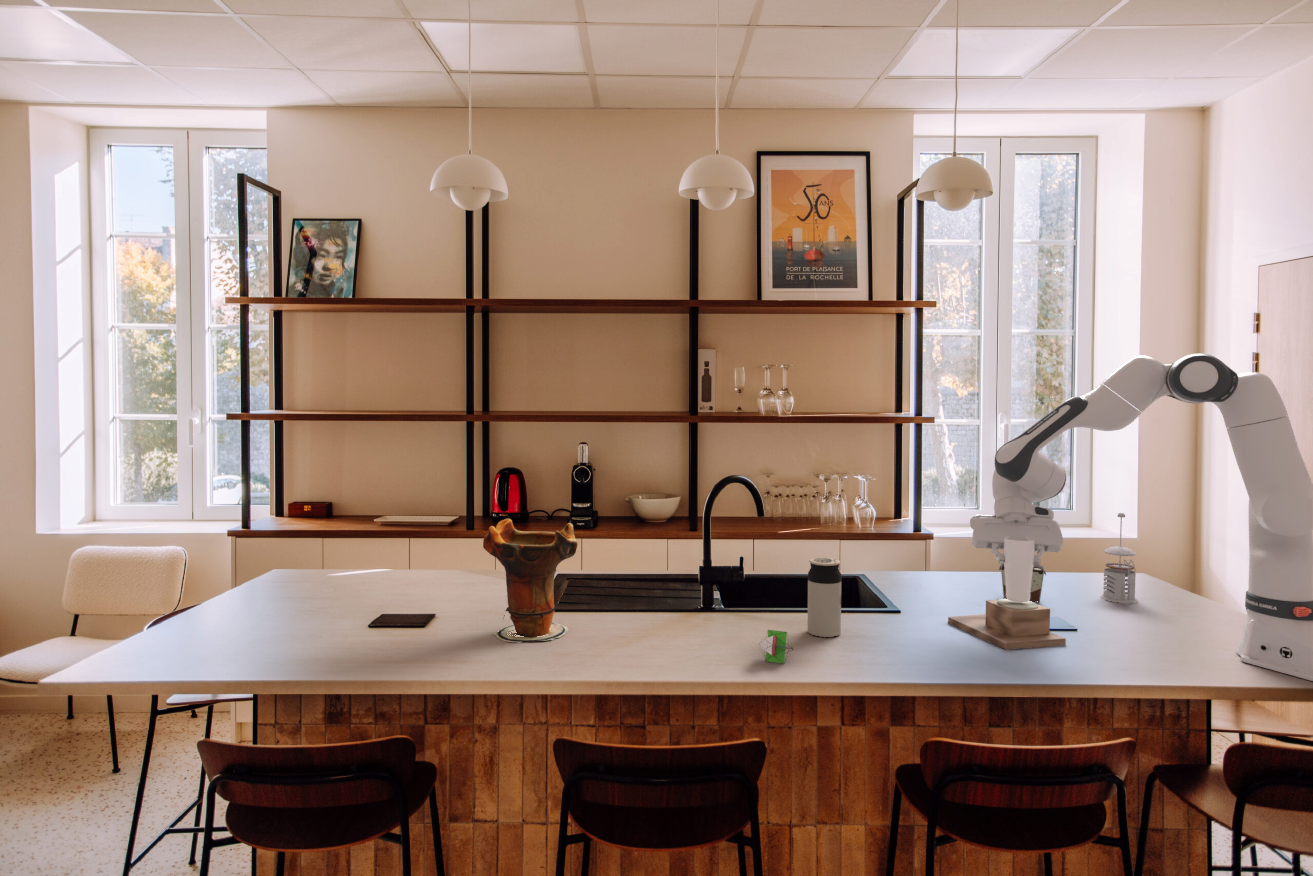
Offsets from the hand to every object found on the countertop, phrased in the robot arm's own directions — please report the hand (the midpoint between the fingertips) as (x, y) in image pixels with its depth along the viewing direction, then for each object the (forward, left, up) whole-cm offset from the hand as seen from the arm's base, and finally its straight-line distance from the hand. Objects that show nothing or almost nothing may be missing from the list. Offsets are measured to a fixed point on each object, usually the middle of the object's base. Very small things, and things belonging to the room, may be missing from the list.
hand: (1018, 562), depth 181 cm
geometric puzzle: (-3, +64, -18) cm, 66 cm away
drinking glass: (+1, 0, -9) cm, 9 cm away
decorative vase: (+30, +115, -18) cm, 120 cm away
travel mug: (+13, +45, -18) cm, 50 cm away
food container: (+31, -26, -18) cm, 44 cm away
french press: (+23, -52, -18) cm, 60 cm away
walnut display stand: (+3, +2, -18) cm, 18 cm away
